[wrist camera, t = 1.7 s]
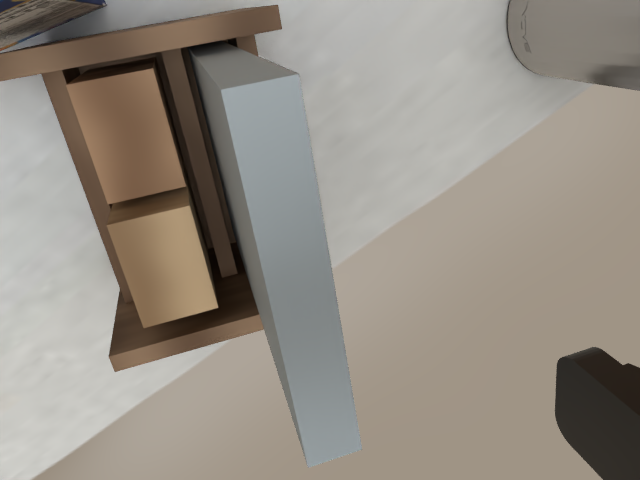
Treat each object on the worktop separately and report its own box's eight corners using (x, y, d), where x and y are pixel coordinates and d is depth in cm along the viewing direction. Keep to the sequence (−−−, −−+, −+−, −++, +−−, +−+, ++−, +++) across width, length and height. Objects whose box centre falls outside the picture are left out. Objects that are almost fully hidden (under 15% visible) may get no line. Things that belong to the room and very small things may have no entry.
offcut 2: (183, 157, 35) (189, 205, 26) (205, 238, 38) (218, 307, 29) (121, 171, 34) (106, 225, 25) (148, 253, 37) (143, 328, 28)
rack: (242, 8, 34) (277, 4, 23) (287, 233, 41) (331, 310, 30) (46, 42, 32) (-13, 56, 21) (128, 273, 39) (114, 371, 28)
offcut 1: (155, 56, 32) (153, 68, 25) (181, 151, 35) (186, 186, 28) (87, 69, 32) (65, 84, 25) (119, 165, 34) (107, 204, 27)
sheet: (219, 39, 33) (298, 73, 13) (261, 228, 38) (361, 449, 19) (186, 45, 33) (220, 89, 13) (234, 235, 38) (308, 467, 18)
